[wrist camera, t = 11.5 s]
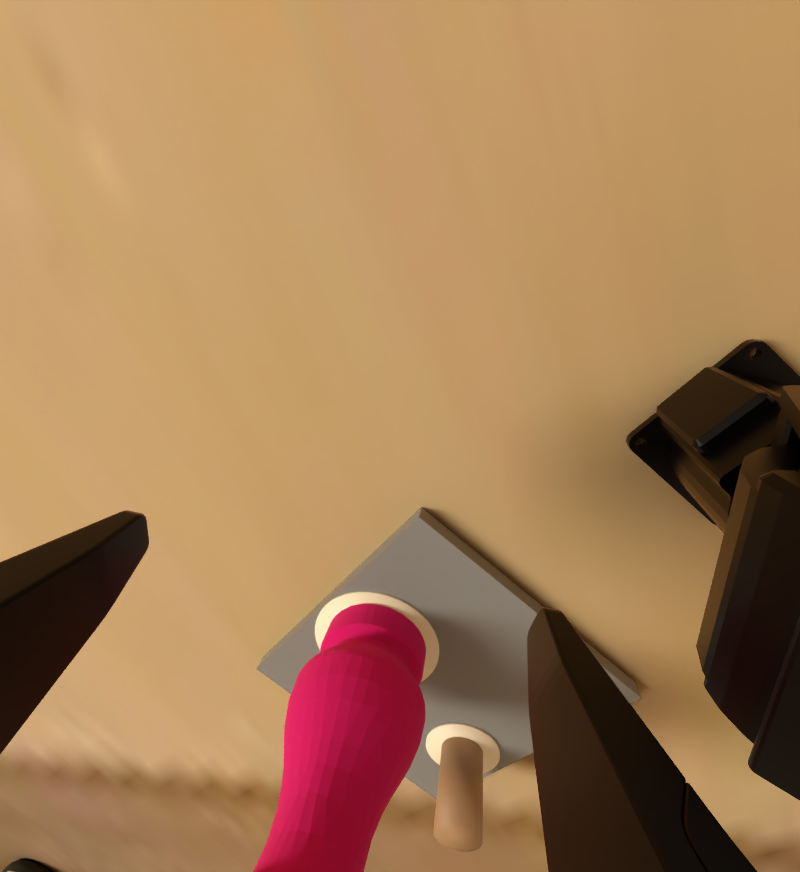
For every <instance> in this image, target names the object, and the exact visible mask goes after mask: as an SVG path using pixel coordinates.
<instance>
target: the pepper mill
mask: <svg viewBox="0 0 800 872" xmlns="http://www.w3.org/2000/svg"><path fill="white" fill-rule="evenodd" d="M425 657H426V645H425V642H424V639H423V636H422V634H421V633H420V631H419V629H418V628H417V627H416V626H415V625H414V623H413V622H412V621H410V620H409V619H408V618H407V617H405V616H404V615H403V614H401V613H399V612H397V611H395V610H393V609H391V608H389V607H385V606H381V605H377V604H359V605H353V606H350V607H348V608H346V609H344V610H342V611H341V612H339V613H338V614H337V615H336V616H335V617H334V618H333V620H332V621H331V623H330V625H329V627H328V630H327V632H326V634H325V637H324V639H323V641H322V644H321V648H320V653H319V654H317V655H315V656H314V657H313V658H312V659H310V660H309V661H308V662H307V663H306V664H305V665H304V667H303V668H302V670H301V671H300V673H299V674H298V676H297V679H296V682H295V685H294V687H293V690H292V693H291V696H290V699H289V703H288V709H287V715H286V721H285V731H284V769H283V779H282V786H281V792H280V797H279V802H278V808H277V812H276V815H275V818H274V821H273V825H272V828H271V831H270V834H269V837H268V840H267V843H266V845H265V848H264V850H263V852H262V854H261V856H260V858H259V861H258V863H257V865H256V867H255V869H254V871H253V872H364V868H365V864H366V860H367V856H368V852H369V848H370V844H371V840H372V838H373V835H374V833H375V830H376V828H377V825H378V823H379V821H380V818H381V816H382V813H383V812H384V810H385V808H386V806H387V804H388V803H389V801H390V799H391V797H392V796H393V794H394V793H395V791H396V789H397V788H398V786H399V785H400V783H401V781H402V780H403V778H404V777H405V775H406V773H407V772H408V770H409V769H410V767H411V764H412V762H413V760H414V757H415V755H416V753H417V751H418V748H419V745H420V742H421V738H422V733H423V729H424V724H425V716H426V711H425V701H424V698H423V694H422V691H421V689H420V687H419V685H420V683H421V680H422V677H423V670H424V664H425Z"/></svg>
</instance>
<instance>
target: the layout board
mask: <svg viewBox="0 0 800 872" xmlns="http://www.w3.org/2000/svg"><path fill="white" fill-rule="evenodd" d="M359 604H377V605H381V606H385V607H389V608H391V609H393V610H395V611H397V612H399V613H401V614H403V615H404V616H405V617H407V618H408V619H409V620H410V621H412V622H413V623H414V625H415V626H416V627H417V628H418V629H419V631H420V633H421V634H422V636H423V639H424V642H425V645H426V657H425V664H424V670H423V677H422V680H421V683H420V685H419V687H420V689H421V691H422V694H423V698H424V701H425V711H426V716H425V724H424V729H423V733H422V738H421V742H420V745H419V748H418V751H417V753H416V755H415V757H414V760H413V762H412V764H411V767H410V769H409V770H408V772H407V773H406V775H405V777H406V778H408V779H409V780H410V781H412V782H413V783H415V784H416V785H417V786H419V787H420V788H421V789H423V790H424V791H426V792H427V793H428V794H430V795H431V796H432V797H434V798H435V799H437V801H436V811H435V822H434V836H435V838H436V839H437V840H438V841H439V842H440V843H441V844H442V845H444V846H446V847H447V848H450V849H452V850H456V851H461V852H470V851H475V850H477V849H479V848H480V847H481V845H482V819H483V778H484V777H486V776H488V775H490V774H492V773H494V772H496V771H498V770H500V769H502V768H504V767H506V766H508V765H510V764H512V763H514V762H516V761H518V760H520V759H522V758H524V757H526V756H528V755H530V754H532V753H534V752H533V744H532V736H531V728H530V719H529V705H528V664H527V635H528V631H529V629H530V627H531V625H532V623H533V621H534V619H535V617H536V615H537V613H538V612H539V610H540V609H541V608H542V607H543V606H542V605H540V604H539V603H538V602H537V601H536V600H534V599H533V598H532V597H531V596H529V595H528V594H527V593H526V592H525V591H523V590H522V589H521V588H520V587H518V586H517V585H516V584H515V583H514V582H512V581H511V580H510V579H509V578H507V577H506V576H505V575H504V574H503V573H501V572H500V571H499V570H498V569H496V568H495V567H494V566H493V565H492V564H490V563H489V562H488V561H487V560H485V559H484V558H483V557H482V556H481V555H479V554H478V553H477V552H476V551H474V550H473V549H472V548H471V547H470V546H468V545H467V544H466V543H465V542H463V541H462V540H461V539H460V538H459V537H457V536H456V535H455V534H454V533H452V532H451V531H450V530H449V529H448V528H446V527H445V526H444V525H443V524H441V523H440V522H439V521H438V520H436V519H435V518H434V517H433V516H432V515H430V514H429V513H428V512H427V511H425V510H424V509H423V508H422V507H421V508H420V509H419V510H418V511H417V512H416V513H415V514H414V515H413V516H412V517H411V518H410V519H409V520H408V521H407V522H406V523H404V524H403V525H402V526H401V527H400V528H399V529H398V530H397V531H396V532H395V533H394V534H393V535H392V536H391V537H390V538H389V539H388V540H386V541H385V542H384V543H383V544H382V545H381V546H380V547H379V548H378V549H377V550H376V551H375V552H374V553H373V554H372V555H371V556H370V557H369V558H367V559H366V560H365V561H364V562H363V563H362V564H361V565H360V566H359V567H358V568H357V569H356V570H355V571H354V572H353V573H352V574H351V575H350V576H348V577H347V578H346V579H345V580H344V581H343V582H342V583H341V584H340V585H339V586H338V587H337V588H336V589H335V590H334V591H333V592H332V593H330V594H329V595H328V596H327V597H326V598H325V599H324V600H323V601H322V602H321V603H320V604H319V605H318V606H317V607H316V608H315V609H314V610H313V611H311V612H310V613H309V614H308V615H307V616H306V617H305V618H304V619H303V620H302V621H301V622H300V623H299V624H298V625H297V626H296V627H295V628H294V629H292V630H291V631H290V632H289V633H288V634H287V635H286V636H285V637H284V638H283V639H282V640H281V641H280V642H279V643H278V644H277V645H276V646H274V647H273V648H272V649H271V650H270V651H269V652H268V653H267V654H266V655H265V656H264V657H263V659H262V660H261V662H260V664H259V666H258V667H257V670H259V671H260V672H261V673H263V674H264V675H265V676H267V677H268V678H270V679H271V680H272V681H274V682H275V683H277V684H278V685H279V686H281V687H282V688H283V689H285V690H286V691H288V692H289V693H290V694H291V693H292V690H293V687H294V685H295V682H296V679H297V676H298V674H299V673H300V671H301V670H302V668H303V667H304V665H305V664H306V663H307V662H308V661H309V660H310V659H312V658H313V657H314V656H315V655H317V654H319V653H320V648H321V644H322V641H323V639H324V637H325V634H326V632H327V630H328V627H329V625H330V623H331V621H332V620H333V618H334V617H335V616H336V615H337V614H338V613H339V612H341V611H342V610H344V609H346V608H348V607H350V606H353V605H359ZM582 640H583V639H582ZM583 641H584V640H583ZM584 642H585V644H586V645H587V647H588V648H589V649H590V651H591V652H592V653H593V655H594V656H595V657H596V659H597V660H598V661H599V663H600V664H601V665H602V667H603V668H604V669H605V671H606V672H607V674H608V675H609V676H610V678H611V679H612V680H613V682H614V683H615V684H616V686H617V687H618V688H619V690H620V691H621V692H622V694H623V695H624V696H625V698H626V699H627V701H628V702H629V703H630V704H631V703H633V702H635V701H637V700H639V699H641V695H640V692H639V690H638V687H637V684H636V682H635V681H633V680H632V679H631V678H630V677H628V676H627V675H626V674H625V673H624V672H622V671H621V670H620V669H619V668H617V667H616V666H615V665H614V664H613V663H611V662H610V661H609V660H608V659H606V658H605V657H604V656H603V655H602V654H600V653H599V652H598V651H597V650H595V649H594V648H593V647H592V646H591V645H589V644H588V643H587V642H586V641H584Z"/></svg>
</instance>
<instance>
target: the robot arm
mask: <svg viewBox="0 0 800 872" xmlns="http://www.w3.org/2000/svg"><path fill="white" fill-rule="evenodd" d="M754 347H756V349H757V350H756V353H755V354H754V356H752V357H748V356H747V355H748V352H749V350H750V349H752V348H754ZM639 438H644V441H643V442H642V443H641V444H639V445H635V441H636V440H637V439H639ZM626 442H627V445H628V446H629V448H630V449H631V450H632V451H633V452H634V453H635V454H636V455H637V456H638V457H639V458H641V459H642V460H643V461H644V462H645V463H646V464H647V465H648V466H649V467H651V468H652V469H653V470H654V471H655V472H656V473H657V474H658V475H659V476H661V477H662V478H663V479H664V480H665V481H666V482H667V483H668V484H669V485H671V486H672V487H673V488H674V489H675V490H676V491H677V492H678V493H679V494H681V495H682V496H683V497H684V498H685V499H686V500H687V501H688V502H689V503H691V504H692V505H693V506H694V507H695V508H696V509H697V510H698V511H699V512H701V513H702V514H703V515H704V516H705V517H706V518H707V519H708V520H709V521H711V522H712V523H713V524H715V525H717V526H718V527H719V528H720V529H721V530H722V532H723V533H724V537H723V541H722V545H721V549H720V553H719V557H718V561H717V565H716V569H715V573H714V577H713V581H712V585H711V589H710V593H709V597H708V601H707V605H706V609H705V613H704V617H703V621H702V625H701V629H700V633H699V637H698V641H697V645H696V647H697V651H698V655H699V659H700V663H701V667H702V671H703V673H704V675H705V681H704V686H705V688H706V690H707V691H708V693H709V694H710V696H711V697H712V699H713V700H714V702H715V703H716V705H717V706H718V708H719V709H720V710H721V711H722V712H723V713H724V714H725V716H726V717H727V718H728V719H729V720H730V721H731V722H732V723H733V724H734V725H735V726H736V727H737V728H738V729H739V730H740V731H741V732H742V733H743V734H744V735H745V736H746V737H747V738H748V739H749V740H750V741H751V742H752V743H754V746H753V748H752V751H751V754H750V757H749V760H748V765H749V767H750V769H751V770H752V771H753V772H754V773H756V774H757V775H759V776H760V777H762V778H764V779H765V780H767V781H769V782H770V783H772V784H774V785H775V786H777V787H779V788H780V789H782V790H784V791H785V792H787V793H788V794H790V795H792V796H793V797H795V798H797V799H798V800H800V377H799V376H798V375H797V374H796V373H795V372H794V371H793V370H792V369H791V368H790V367H789V366H788V365H787V364H786V363H785V362H784V361H783V360H782V359H781V358H780V357H779V356H778V355H777V354H776V353H775V352H774V351H773V350H772V349H771V348H770V347H769V346H768V345H767V344H766V343H764V342H762V341H759V340H753V339H751V340H747V341H745V342H743V343H741V344H740V345H739V346H737V347H736V348H735V349H734V350H733V351H731V352H730V353H729V354H728V355H726V356H725V357H724V358H723V359H721V360H720V361H719V362H718V363H716V364H715V365H714V366H713V367H706V368H704V369H703V370H702V371H701V372H699V373H698V374H697V375H696V376H694V377H693V378H692V379H691V380H689V381H688V382H687V383H686V384H685V385H683V386H682V387H681V388H680V389H678V390H677V391H676V392H675V393H673V394H672V395H671V396H670V397H669V398H667V399H666V400H665V401H664V402H662V403H661V404H660V405H659V406H658V407H657V410H656V413H654V414H653V415H652V416H651V417H650V418H648V419H647V420H646V421H645V422H643V423H642V424H641V425H640V426H638V427H637V428H636V429H635V430H633V431H632V432H631V433H630V434H629V435H628V436H627V439H626ZM148 545H149V536H148V529H147V521H146V517H145V516H144V515H143V514H141V513H137V512H132V511H122V512H119V513H117V514H115V515H112V516H110V517H107V518H105V519H103V520H100V521H98V522H95V523H93V524H91V525H88V526H86V527H84V528H81V529H79V530H76V531H74V532H72V533H69V534H67V535H64V536H62V537H60V538H57V539H55V540H53V541H50V542H48V543H45V544H43V545H41V546H38V547H36V548H33V549H31V550H29V551H26V552H24V553H21V554H19V555H17V556H14V557H12V558H10V559H7V560H5V561H2V562H0V754H1V753H2V751H3V750H4V749H5V747H6V746H7V745H8V743H9V742H10V741H11V740H12V738H13V737H14V736H15V734H16V733H17V732H18V730H19V729H20V728H21V726H22V725H23V724H24V723H25V721H26V720H27V719H28V717H29V716H30V715H31V713H32V712H33V711H34V709H35V708H36V707H37V705H38V704H39V703H40V702H41V700H42V699H43V698H44V696H45V695H46V694H47V692H48V691H49V690H50V688H51V687H52V686H53V685H54V683H55V682H56V681H57V679H58V678H59V677H60V675H61V674H62V673H63V671H64V670H65V669H66V668H67V666H68V665H69V664H70V662H71V661H72V660H73V658H74V657H75V656H76V654H77V653H78V652H79V651H80V649H81V648H82V647H83V645H84V644H85V643H86V641H87V640H88V639H89V637H90V636H91V635H92V633H93V632H94V631H95V630H96V628H97V627H98V626H99V624H100V623H101V622H102V620H103V619H104V617H105V616H106V615H107V613H108V612H109V610H110V609H111V607H112V606H113V604H114V603H115V601H116V599H117V598H118V596H119V595H120V593H121V591H122V590H123V588H124V587H125V585H126V583H127V582H128V580H129V578H130V577H131V575H132V574H133V572H134V570H135V569H136V567H137V565H138V564H139V562H140V561H141V559H142V557H143V556H144V554H145V552H146V551H147V548H148ZM527 664H528V705H529V719H530V728H531V736H532V744H533V752H534V760H535V768H536V776H537V784H538V791H539V799H540V807H541V815H542V823H543V831H544V839H545V847H546V855H547V863H548V871H549V872H757V871H756V869H755V868H754V867H753V866H752V864H751V863H750V862H749V861H748V859H747V858H746V857H745V856H744V855H743V853H742V852H741V851H740V850H739V848H738V847H737V846H736V845H735V843H734V842H733V841H732V840H731V838H730V837H729V836H728V834H727V833H726V832H725V830H724V829H723V828H722V827H721V825H720V824H719V823H718V821H717V820H716V819H715V817H714V816H713V815H712V813H711V812H710V811H709V810H708V808H707V807H706V806H705V804H704V803H703V802H702V800H701V799H700V797H699V796H698V795H697V793H696V792H695V791H694V789H693V788H692V787H691V785H690V784H689V783H686V780H685V777H684V776H683V775H682V773H681V772H680V771H679V769H678V768H677V767H676V765H675V764H674V763H673V761H672V760H671V759H670V757H669V756H668V755H667V753H666V752H665V750H664V749H663V748H662V746H661V745H660V744H659V742H658V741H657V740H656V738H655V737H654V736H653V734H652V733H651V732H650V730H649V729H648V728H647V726H646V725H645V723H644V722H643V721H642V719H641V718H640V717H639V715H638V714H637V713H636V711H635V710H634V709H633V707H632V706H631V705H630V703H629V702H628V701H627V699H626V698H625V696H624V695H623V694H622V692H621V691H620V690H619V688H618V687H617V686H616V684H615V683H614V682H613V680H612V679H611V678H610V676H609V675H608V674H607V672H606V671H605V669H604V668H603V667H602V665H601V664H600V663H599V661H598V660H597V659H596V657H595V656H594V655H593V653H592V652H591V651H590V649H589V648H588V647H587V645H586V644H585V642H584V641H583V640H582V638H581V637H580V636H579V634H578V633H577V632H576V630H575V629H574V628H573V626H572V625H571V624H570V622H569V621H568V620H567V618H566V617H565V615H564V614H563V613H562V612H561V611H559V610H555V609H551V608H547V607H542V608H541V609H540V610H539V612H538V613H537V615H536V617H535V619H534V621H533V623H532V625H531V627H530V629H529V631H528V635H527Z"/></svg>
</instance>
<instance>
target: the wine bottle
mask: <svg viewBox="0 0 800 872" xmlns="http://www.w3.org/2000/svg"><path fill="white" fill-rule="evenodd" d="M2 872H51V871H49V870H48V869H46V868H45V867H43V866H41V865H39V864H37V863H34V862H32V861H27V860H19V861H14V862H12V863H11V864H9V865H8V866H7V867H6V868H5V869H4V870H3V871H2Z"/></svg>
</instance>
